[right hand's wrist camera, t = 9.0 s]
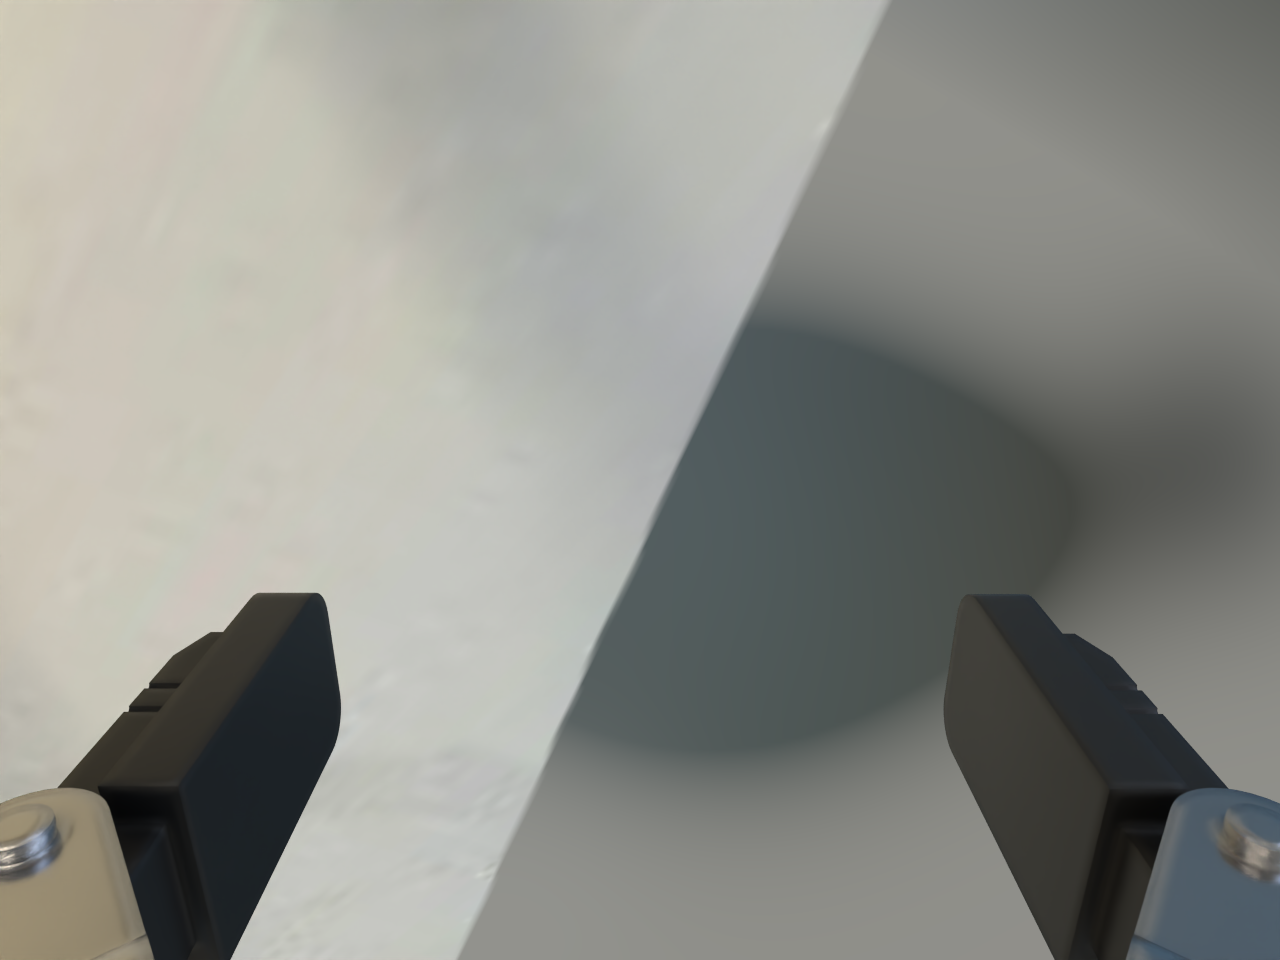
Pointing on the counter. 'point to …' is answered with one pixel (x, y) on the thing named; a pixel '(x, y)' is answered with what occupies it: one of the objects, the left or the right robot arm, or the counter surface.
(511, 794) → the counter surface
